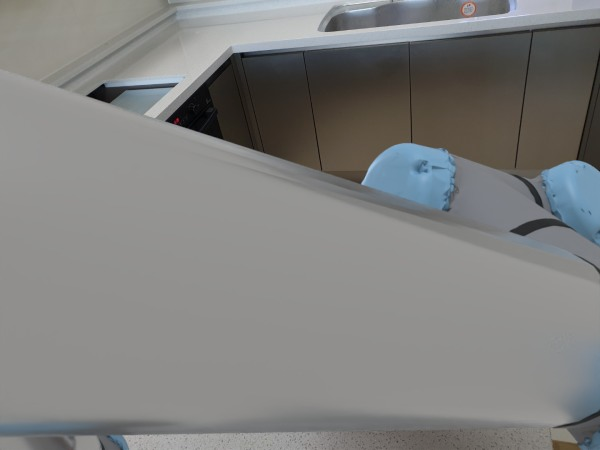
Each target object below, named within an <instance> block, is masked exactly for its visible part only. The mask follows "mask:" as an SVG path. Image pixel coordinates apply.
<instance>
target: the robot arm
mask: <svg viewBox="0 0 600 450" xmlns="http://www.w3.org/2000/svg"><path fill="white" fill-rule="evenodd" d="M491 429H492V430H503V429H566V430H567V432H569V434H570V435H571V436H572V438H573V439H574V440H575V441H576V445H577V447H578V448H579V449H580V450H600V171H599V170H598V169H597V168H595V167H594V166H592V165H591V164H589V163H588V162H585V161H581V160H574V159H573V160H571V161H565V162H563V163H561V164H558V165H556V166H554V167H551V168H549V169H547V168H546V169H544V170H543V171H541V172H540V174H538V175H537V176H536V177H533V178H527V177H524V176H521V175H518V174H513V173H508V172H504V171H502V170H499V169H496V168H493V167H491V166H488V165H484V164H482V163H478V162H475V161H473V160H470V159H468V158H464V157H461V156H458V155H456V154H453V153H450V152H449V151H448V150H447V149H445V148H441V147H439V148H434V147H430V146H425V145H421V144H416V143H413V142H409V143H408V142H402V143H398V144H395V145H392V146H390V147H388V148H387V149H385V150H383V151H382V152H380V154H379V155H378V156H377V157H376V158H375V159H374V160H373V161H372V163H371V164H370V166H369V167H368V169H367V172H366V174H365V177H364V178H363V180H362V181H361V183H358V182H355V181H352V180H349V179H347V178H343V177H339V176H338V175H337V176H336V175H333V174H331V173H327V172H325V171H324V172H323V171H321V170H318V169H314V168H311V167H308V166H305V165H302V164H299V163H297V162H292V161H290V160H287V159H283V158H281V157H277V156H274V155H271V154H267V153H264V152H262V151H258V150H255V149H252V148H249V147H246V146H242V145H240V144H236V143H234V142H230V141H228V140H224V139H221V138H218V137H214V136H212V135H208V134H205V133H202V132H199V131H196V130H193V129H190V128H186V127H183V126H180V125H177V124H174V123H172V122H171V123H170V122H168V121H165V120H161V119H158V118H155V117H152V116H149V115H146V114H142V113H139V112H137V111H134V110H130V109H128V108H124V107H121V106H118V105H115V104H111V103H109V102H105V101H102V100H99V99H95V98H94V97H90V96H86V95H83V94H80V93H78V92H74V91H71V90H68V89H65V88H62V87H58V86H55V85H52V84H49V83H46V82H44V81H40V80H36V79H33V78H30V77H27V76H24V75H22V74H18V73H14V72H12V71H9V70H5V69H2V68H0V450H130V447H129V444H128V442H127V440H126V439H125V437H124V436H152V435H153V436H156V435H157V436H158V435H163V436H164V435H212V434H213V435H215V434H217V435H218V434H219V435H221V434H267V433H269V434H273V433H275V434H276V433H323V432H324V433H326V432H327V433H329V432H332V433H333V432H334V433H335V432H382V431H383V432H384V431H386V432H387V431H391V432H392V431H394V432H395V431H440V430H441V431H445V430H491Z"/></svg>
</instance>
